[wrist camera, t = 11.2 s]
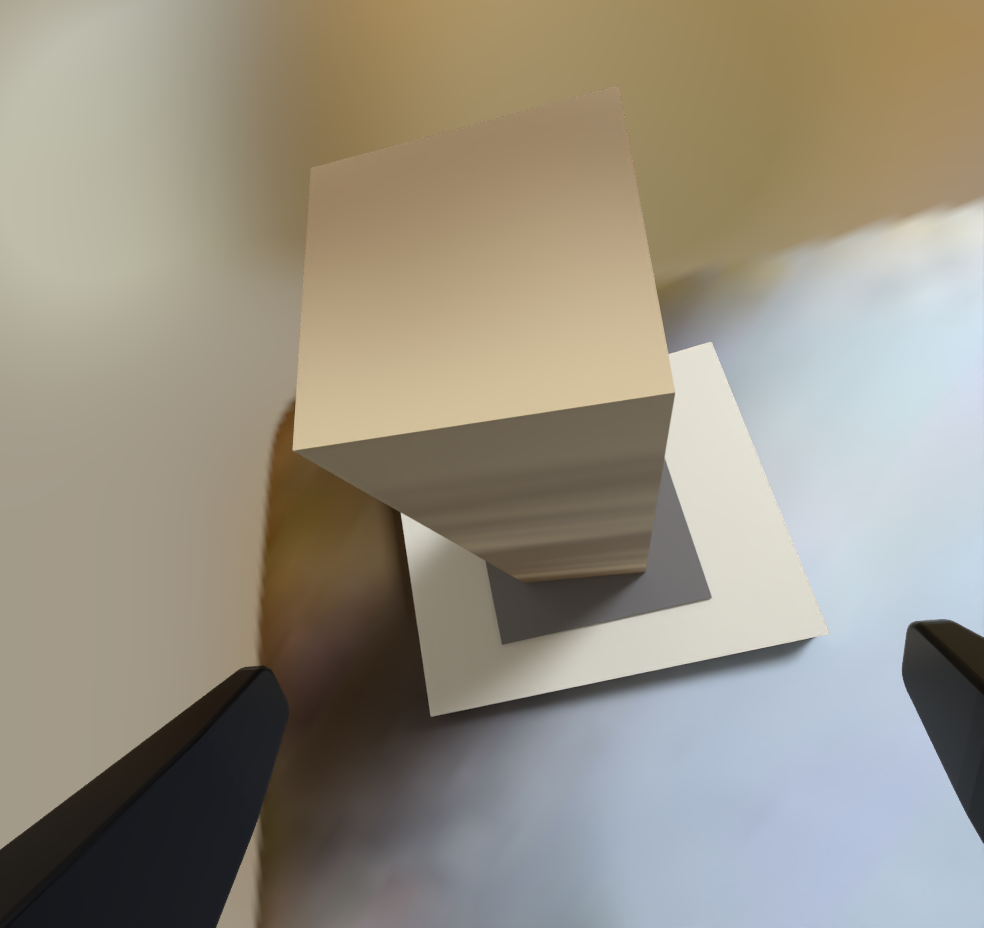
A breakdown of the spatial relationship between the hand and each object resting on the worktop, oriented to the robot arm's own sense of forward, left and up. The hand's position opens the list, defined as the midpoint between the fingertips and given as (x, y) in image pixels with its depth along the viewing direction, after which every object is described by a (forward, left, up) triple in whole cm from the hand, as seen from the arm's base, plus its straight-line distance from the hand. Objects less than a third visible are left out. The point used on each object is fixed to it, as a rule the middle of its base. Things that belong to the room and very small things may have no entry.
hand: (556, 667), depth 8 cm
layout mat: (+3, +2, -9) cm, 10 cm away
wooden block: (+3, +3, -8) cm, 9 cm away
